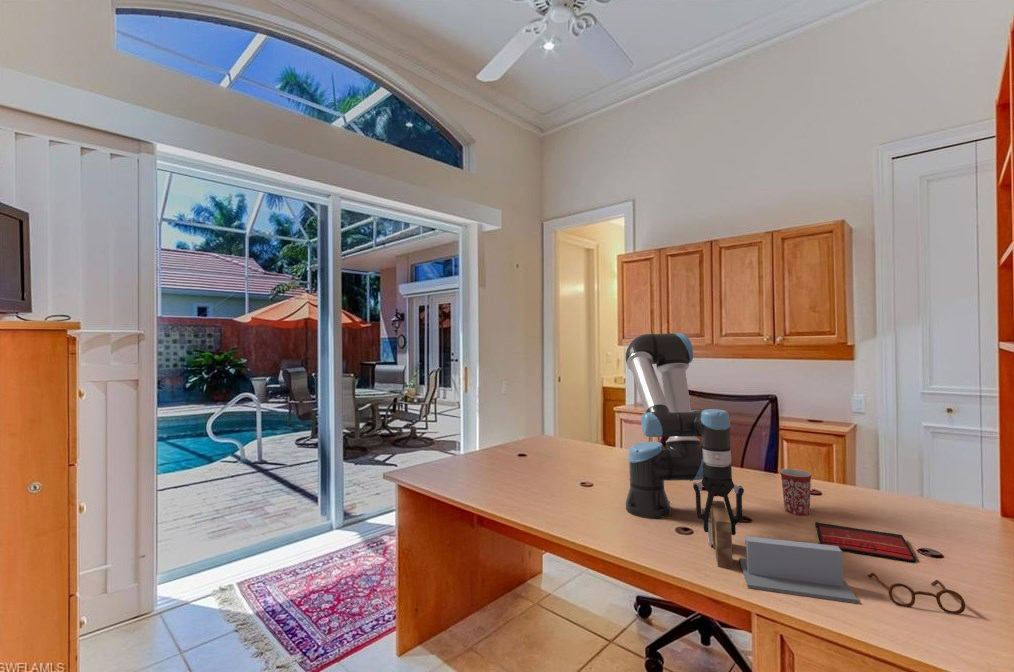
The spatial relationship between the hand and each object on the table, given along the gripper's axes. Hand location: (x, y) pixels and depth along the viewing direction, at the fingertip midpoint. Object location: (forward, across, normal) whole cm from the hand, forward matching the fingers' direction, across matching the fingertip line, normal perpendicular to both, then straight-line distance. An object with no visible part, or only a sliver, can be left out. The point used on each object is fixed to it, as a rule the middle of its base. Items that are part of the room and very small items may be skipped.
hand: (719, 544), depth 129 cm
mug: (+1, +28, +37) cm, 46 cm away
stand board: (+1, +15, -14) cm, 21 cm away
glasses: (+1, +39, -13) cm, 41 cm away
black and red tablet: (+1, +38, +13) cm, 41 cm away
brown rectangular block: (+1, 0, -4) cm, 5 cm away
